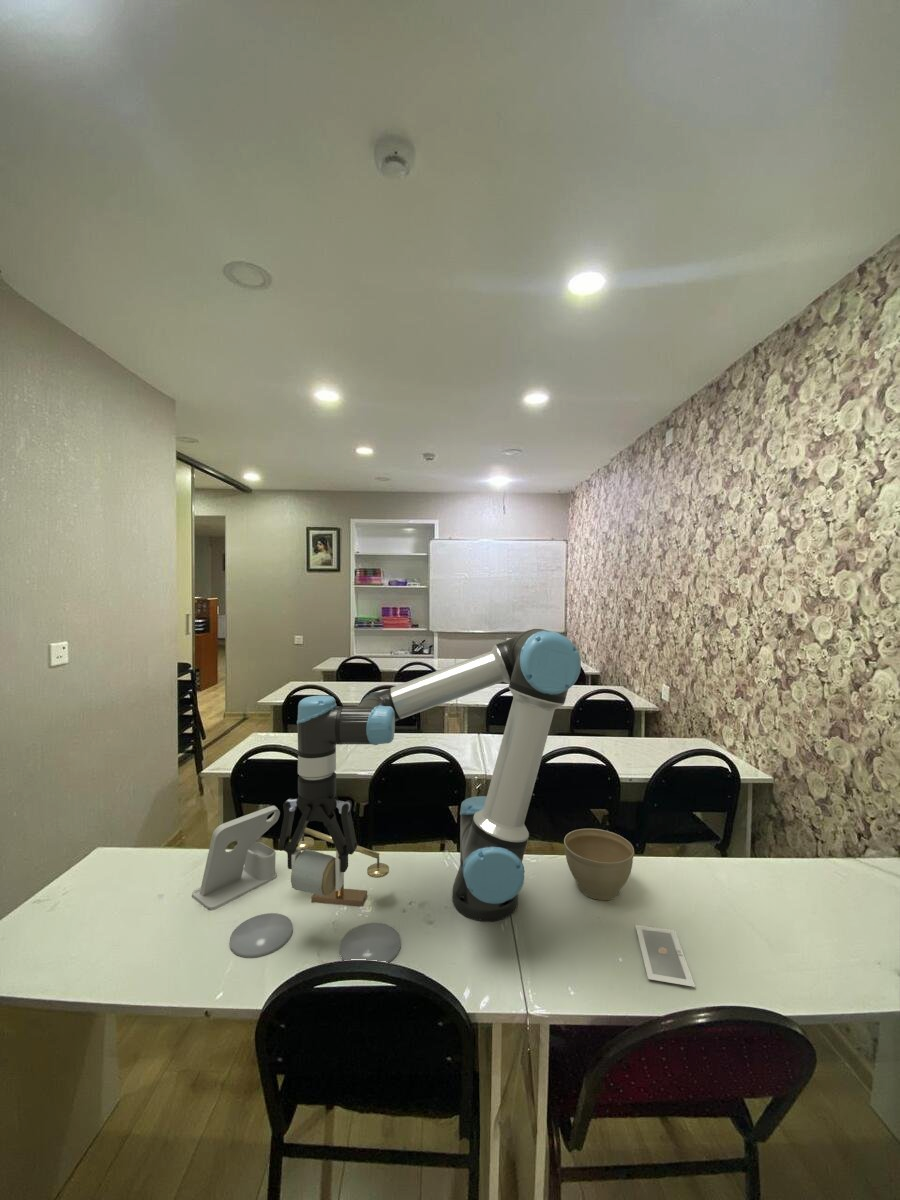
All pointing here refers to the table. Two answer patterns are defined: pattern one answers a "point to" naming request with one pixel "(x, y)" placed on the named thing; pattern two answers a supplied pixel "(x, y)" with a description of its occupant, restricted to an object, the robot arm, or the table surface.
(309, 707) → the robot arm
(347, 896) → the balance
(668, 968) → the touchpad
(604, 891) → the planter bowl
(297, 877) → the ceramic mug
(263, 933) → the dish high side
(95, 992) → the table surface
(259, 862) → the phone holder
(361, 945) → the dish low side
